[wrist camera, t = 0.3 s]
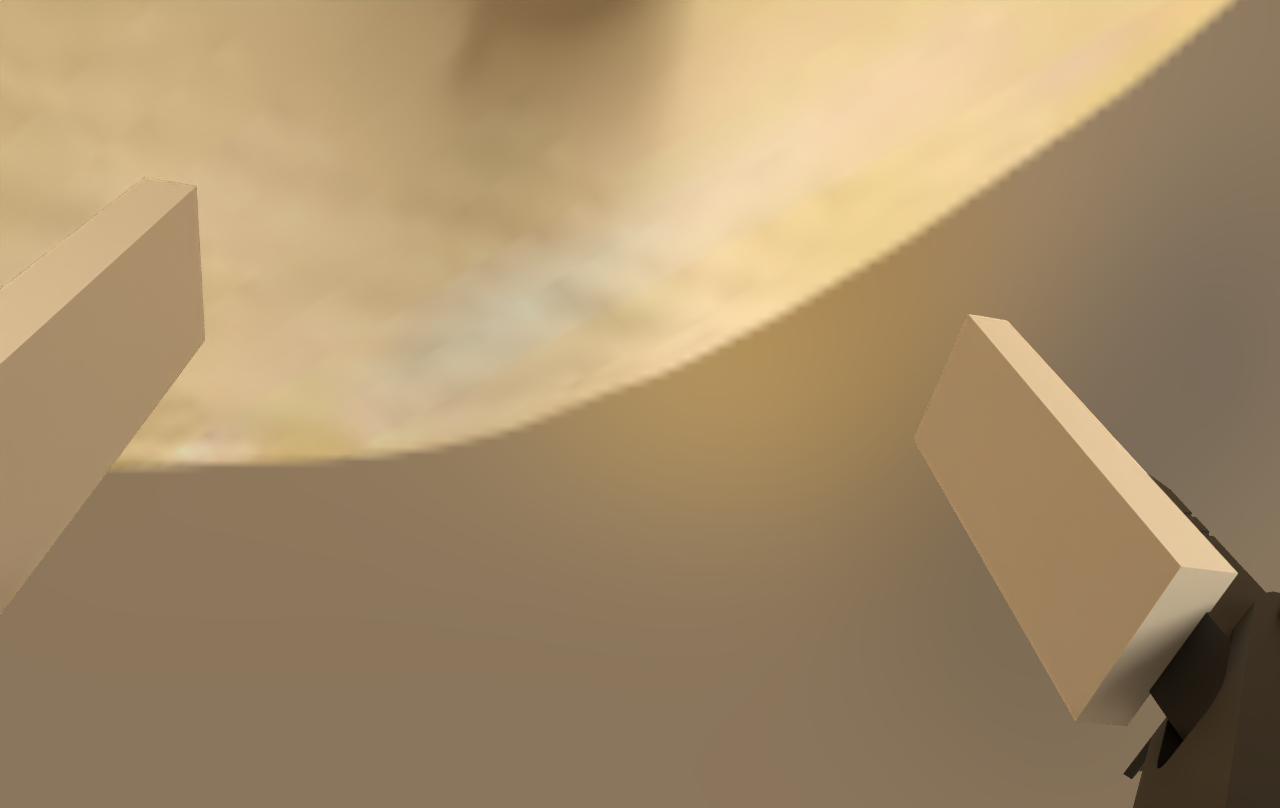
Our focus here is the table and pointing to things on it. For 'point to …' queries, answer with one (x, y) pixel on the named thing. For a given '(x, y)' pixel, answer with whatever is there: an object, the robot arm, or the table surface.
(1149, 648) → the robot arm
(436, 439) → the table surface
